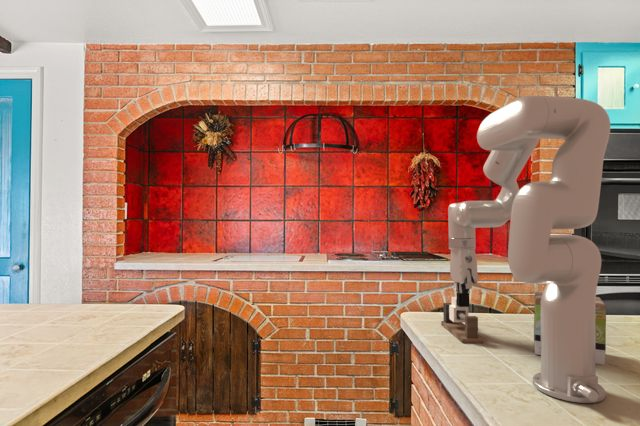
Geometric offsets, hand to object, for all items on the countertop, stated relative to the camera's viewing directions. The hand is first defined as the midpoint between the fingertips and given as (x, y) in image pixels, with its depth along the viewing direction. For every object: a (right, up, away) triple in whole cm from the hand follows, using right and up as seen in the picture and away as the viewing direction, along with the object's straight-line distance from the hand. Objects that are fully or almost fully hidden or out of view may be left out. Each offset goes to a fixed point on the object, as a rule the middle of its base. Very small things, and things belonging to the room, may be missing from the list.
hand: (463, 306), depth 118 cm
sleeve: (0, -5, +4) cm, 6 cm away
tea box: (+21, -9, -16) cm, 28 cm away
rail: (0, -9, +2) cm, 9 cm away
